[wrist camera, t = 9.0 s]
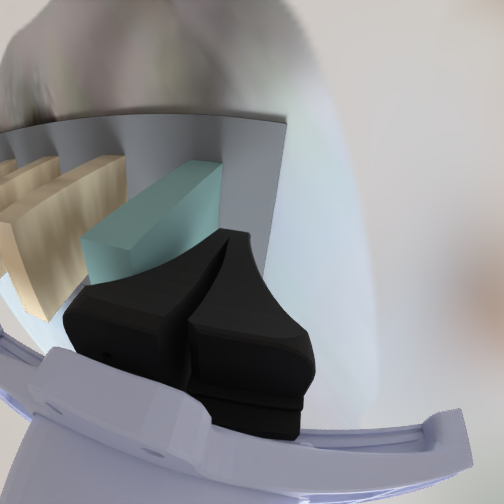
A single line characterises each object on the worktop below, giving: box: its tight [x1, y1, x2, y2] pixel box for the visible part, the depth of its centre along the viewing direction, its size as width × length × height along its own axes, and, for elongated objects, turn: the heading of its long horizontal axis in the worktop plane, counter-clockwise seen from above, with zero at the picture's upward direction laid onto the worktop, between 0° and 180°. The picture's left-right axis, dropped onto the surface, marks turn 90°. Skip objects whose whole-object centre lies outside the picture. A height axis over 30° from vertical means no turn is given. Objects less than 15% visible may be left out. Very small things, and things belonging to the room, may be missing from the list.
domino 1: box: [0, 156, 61, 278], centre depth 12 cm, size 5×2×9 cm, turn 174°
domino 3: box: [80, 160, 223, 285], centre depth 12 cm, size 5×2×9 cm, turn 173°
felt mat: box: [0, 114, 287, 286], centre depth 17 cm, size 14×31×1 cm, turn 84°
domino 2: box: [0, 155, 128, 323], centre depth 12 cm, size 5×2×9 cm, turn 174°
